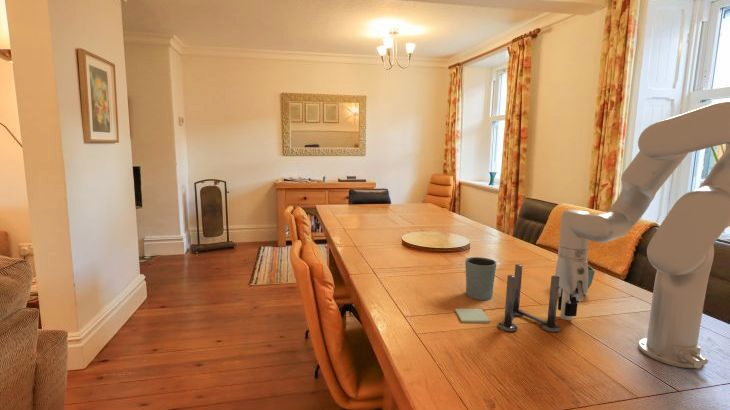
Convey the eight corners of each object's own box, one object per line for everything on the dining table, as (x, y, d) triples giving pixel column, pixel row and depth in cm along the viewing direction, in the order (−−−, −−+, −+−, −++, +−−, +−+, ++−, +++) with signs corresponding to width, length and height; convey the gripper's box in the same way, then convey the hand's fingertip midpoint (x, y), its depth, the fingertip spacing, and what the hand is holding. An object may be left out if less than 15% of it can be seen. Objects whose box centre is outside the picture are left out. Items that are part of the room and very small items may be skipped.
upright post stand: (564, 332, 105) (569, 280, 103) (501, 332, 105) (505, 279, 102) (539, 309, 120) (543, 263, 117) (484, 309, 120) (487, 262, 117)
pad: (489, 322, 110) (489, 320, 110) (461, 322, 110) (461, 320, 110) (481, 310, 118) (481, 309, 118) (455, 310, 118) (455, 308, 118)
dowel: (574, 320, 113) (577, 287, 111) (563, 320, 113) (566, 287, 111) (568, 315, 116) (572, 283, 114) (558, 315, 116) (561, 283, 114)
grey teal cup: (473, 302, 125) (475, 266, 123) (457, 290, 134) (459, 257, 133) (500, 299, 127) (503, 264, 126) (483, 288, 137) (485, 255, 135)
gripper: (603, 261, 103) (595, 325, 106) (570, 245, 119) (565, 302, 122) (575, 260, 103) (568, 325, 106) (546, 245, 119) (541, 301, 122)
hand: (566, 312), depth 114 cm, fingers closed on dowel, 3 cm apart
